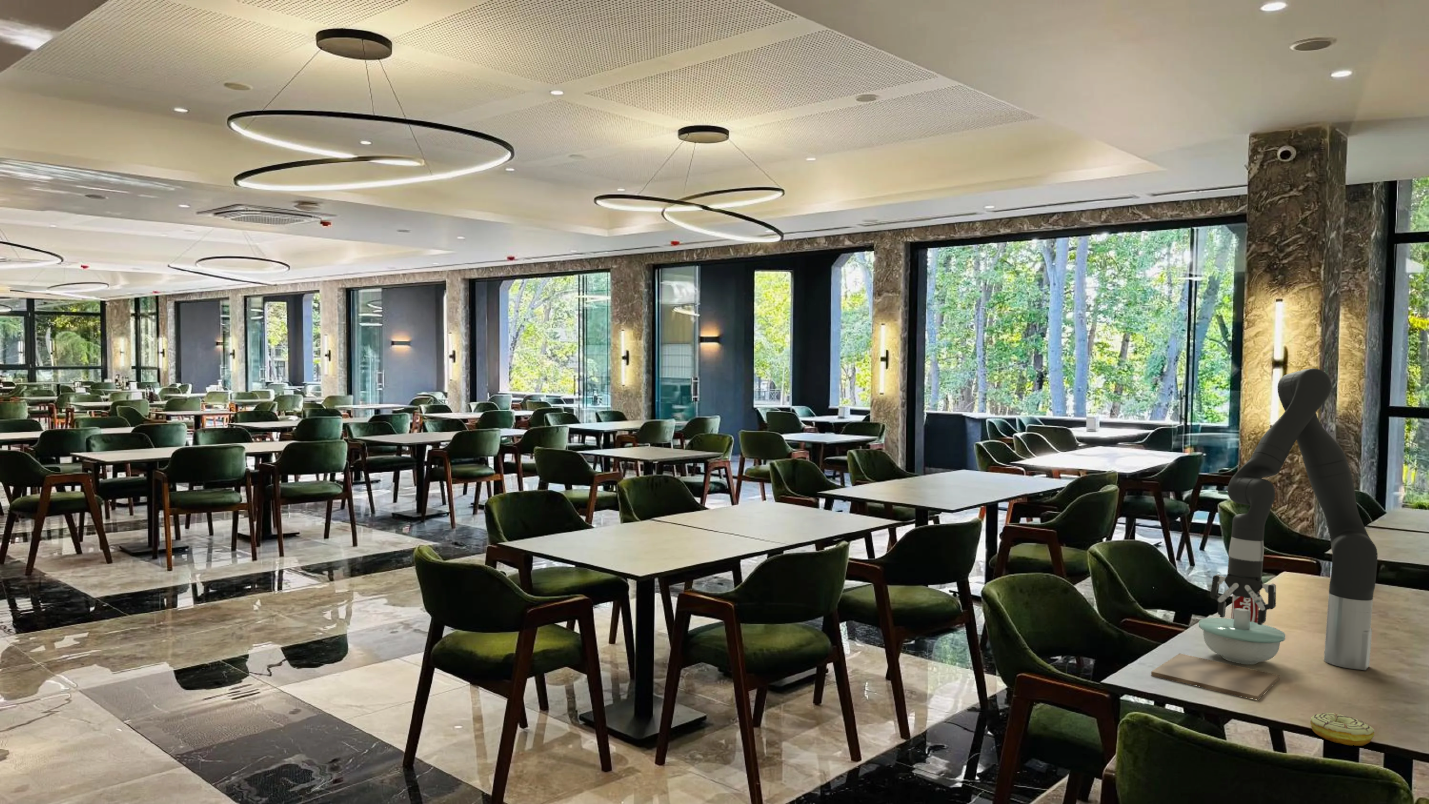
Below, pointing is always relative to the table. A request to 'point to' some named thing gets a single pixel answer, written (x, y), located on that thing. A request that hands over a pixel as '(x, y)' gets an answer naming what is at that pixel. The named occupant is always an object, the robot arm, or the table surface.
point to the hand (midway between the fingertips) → (1240, 620)
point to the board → (1216, 676)
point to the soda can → (1245, 607)
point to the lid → (1242, 628)
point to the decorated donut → (1341, 729)
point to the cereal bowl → (1240, 649)
